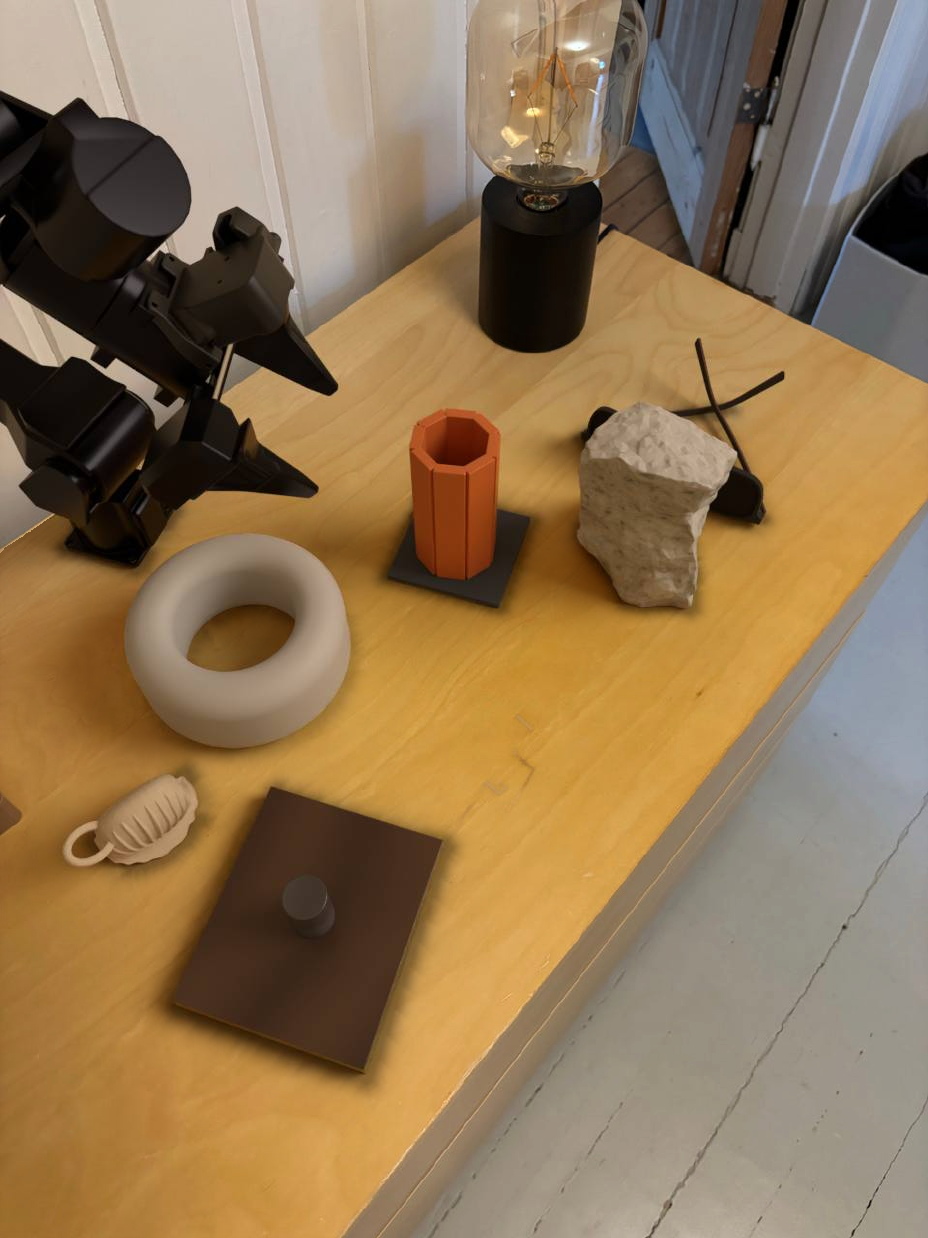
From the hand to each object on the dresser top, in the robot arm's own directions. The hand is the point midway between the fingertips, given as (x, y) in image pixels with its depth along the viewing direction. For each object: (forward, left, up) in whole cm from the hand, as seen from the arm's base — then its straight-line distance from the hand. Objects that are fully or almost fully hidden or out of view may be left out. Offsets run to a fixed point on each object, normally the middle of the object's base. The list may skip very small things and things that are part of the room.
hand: (325, 440), depth 62 cm
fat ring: (-3, -11, -14) cm, 18 cm away
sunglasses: (+24, +22, -14) cm, 35 cm away
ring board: (+9, -27, -14) cm, 31 cm away
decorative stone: (+22, +7, -14) cm, 27 cm away
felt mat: (+8, +4, -14) cm, 16 cm away
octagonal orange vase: (+8, +4, -13) cm, 16 cm away
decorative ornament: (-4, -25, -14) cm, 28 cm away
